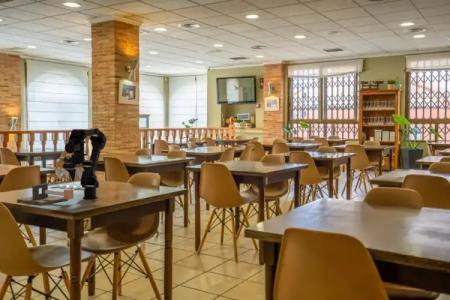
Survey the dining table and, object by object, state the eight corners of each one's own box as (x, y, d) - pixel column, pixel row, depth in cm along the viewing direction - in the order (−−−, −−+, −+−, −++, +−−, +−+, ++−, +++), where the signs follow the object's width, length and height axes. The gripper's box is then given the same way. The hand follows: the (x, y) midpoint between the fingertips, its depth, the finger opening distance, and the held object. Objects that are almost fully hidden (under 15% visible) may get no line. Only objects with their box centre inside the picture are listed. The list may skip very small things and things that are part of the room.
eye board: (16, 201, 263) (16, 185, 263) (43, 197, 279) (43, 181, 278) (42, 205, 254) (41, 188, 253) (68, 200, 269) (68, 184, 269)
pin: (43, 196, 263) (43, 187, 263) (49, 195, 267) (49, 186, 266) (67, 199, 254) (67, 190, 254) (73, 198, 258) (73, 189, 257)
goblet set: (93, 187, 322) (93, 167, 321) (87, 188, 316) (87, 168, 315) (59, 185, 332) (59, 165, 331) (53, 186, 326) (53, 166, 326)
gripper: (81, 150, 274) (81, 177, 275) (55, 152, 258) (55, 181, 259) (95, 151, 269) (95, 178, 270) (70, 153, 252) (70, 182, 253)
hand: (79, 180), depth 263 cm, fingers open, 9 cm apart
